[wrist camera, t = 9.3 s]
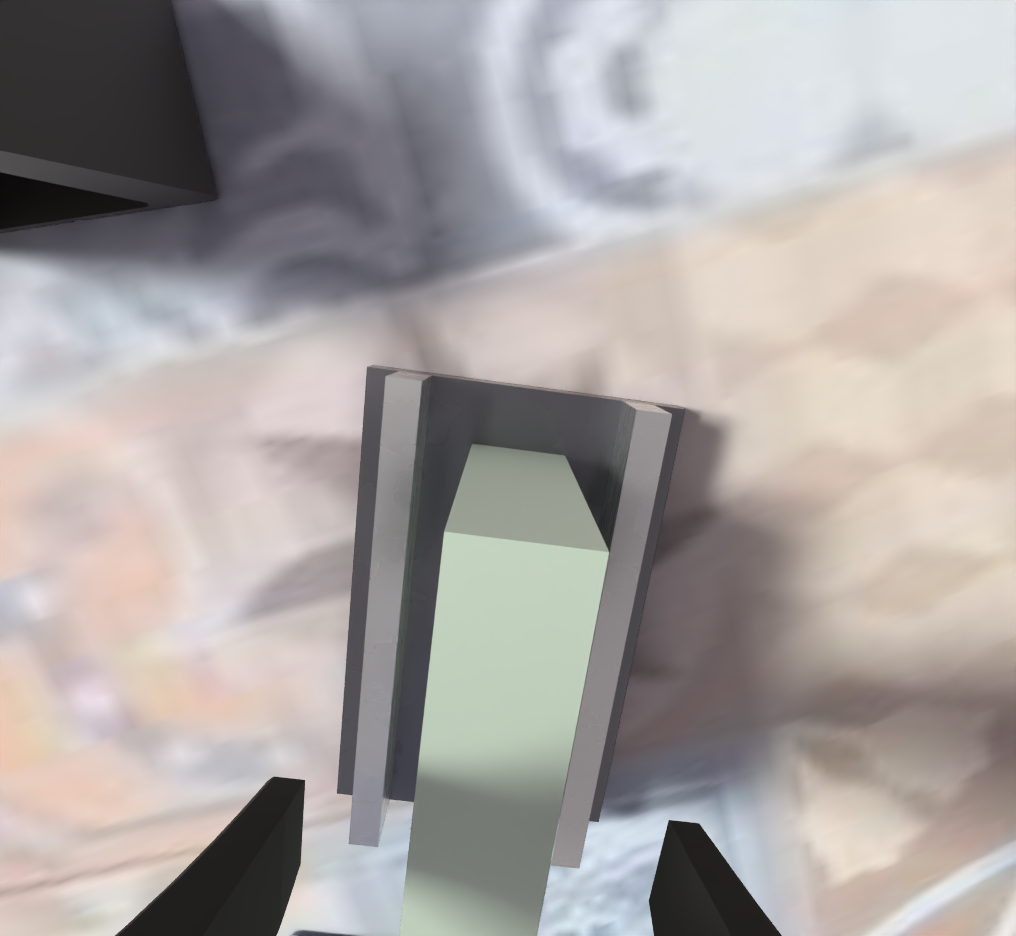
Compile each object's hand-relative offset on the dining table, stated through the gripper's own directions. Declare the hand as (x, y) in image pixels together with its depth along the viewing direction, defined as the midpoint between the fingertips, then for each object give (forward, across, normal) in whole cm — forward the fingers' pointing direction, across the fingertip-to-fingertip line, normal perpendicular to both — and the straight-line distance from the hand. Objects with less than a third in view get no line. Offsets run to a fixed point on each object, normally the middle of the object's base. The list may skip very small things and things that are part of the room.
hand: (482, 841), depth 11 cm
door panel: (+9, 0, 0) cm, 9 cm away
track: (+9, 0, 0) cm, 9 cm away
